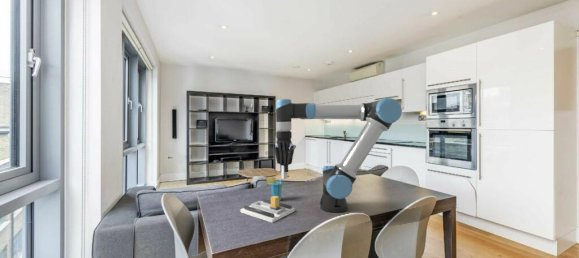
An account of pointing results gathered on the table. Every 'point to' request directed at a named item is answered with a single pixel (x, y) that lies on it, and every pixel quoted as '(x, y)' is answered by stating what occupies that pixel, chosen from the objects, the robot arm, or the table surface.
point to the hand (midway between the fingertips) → (284, 178)
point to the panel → (267, 210)
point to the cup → (275, 186)
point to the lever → (275, 203)
